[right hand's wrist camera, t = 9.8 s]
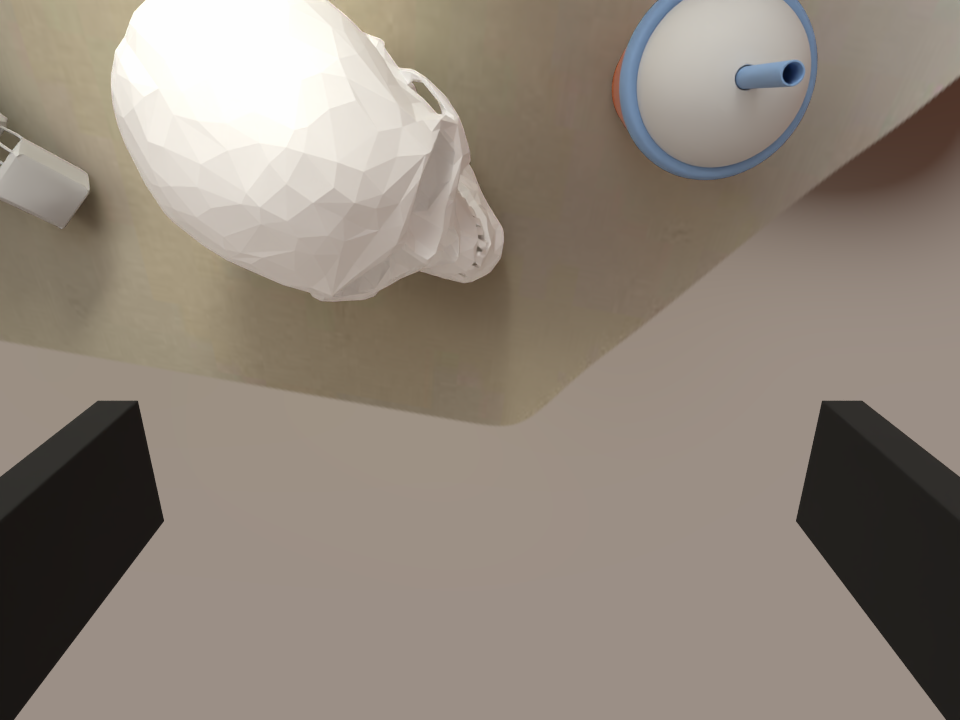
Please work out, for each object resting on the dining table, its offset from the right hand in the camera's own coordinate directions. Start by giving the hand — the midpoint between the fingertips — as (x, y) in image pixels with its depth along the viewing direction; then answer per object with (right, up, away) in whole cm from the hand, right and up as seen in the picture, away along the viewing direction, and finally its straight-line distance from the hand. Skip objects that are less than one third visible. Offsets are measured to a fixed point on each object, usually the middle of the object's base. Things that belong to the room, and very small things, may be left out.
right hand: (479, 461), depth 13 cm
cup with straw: (+11, +19, +27) cm, 35 cm away
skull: (-8, +15, +29) cm, 33 cm away
